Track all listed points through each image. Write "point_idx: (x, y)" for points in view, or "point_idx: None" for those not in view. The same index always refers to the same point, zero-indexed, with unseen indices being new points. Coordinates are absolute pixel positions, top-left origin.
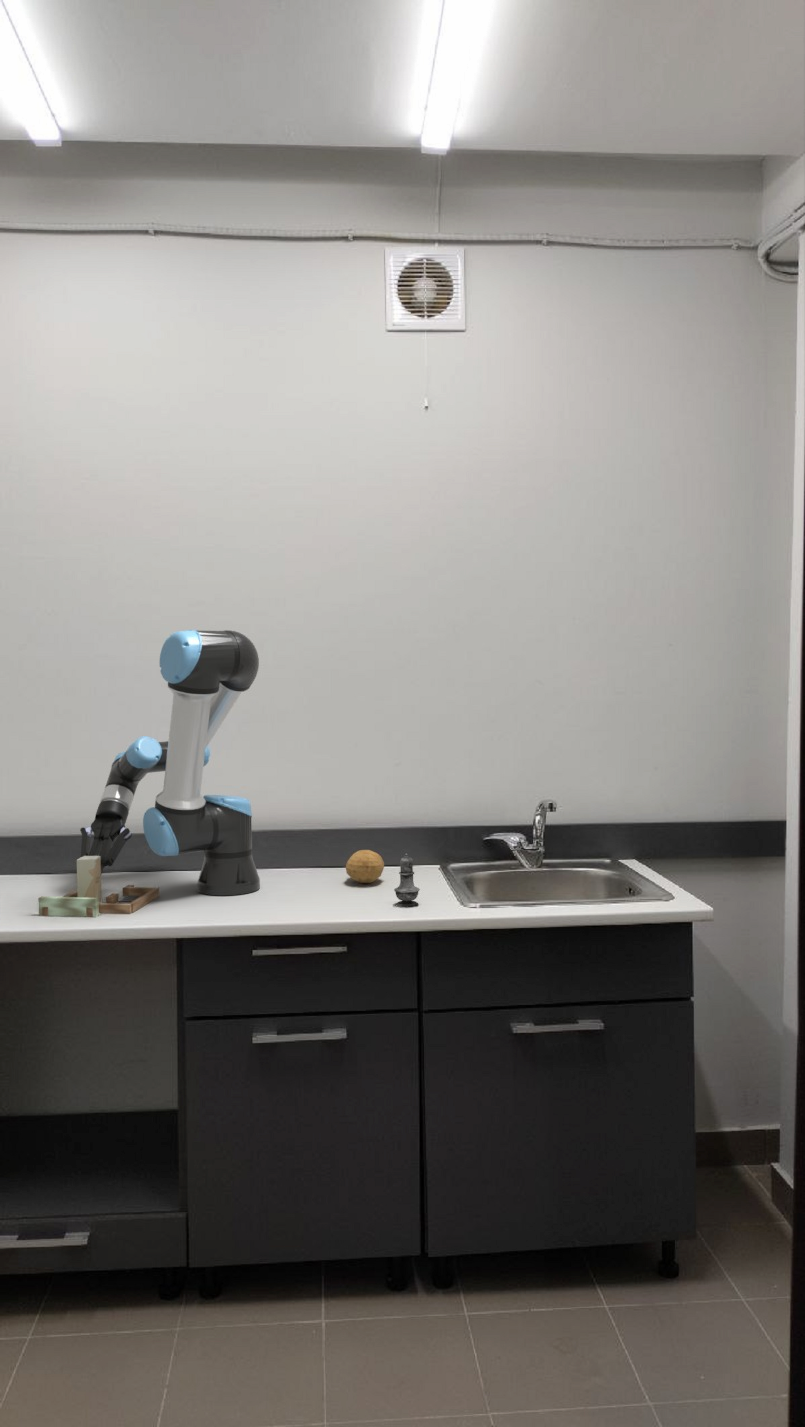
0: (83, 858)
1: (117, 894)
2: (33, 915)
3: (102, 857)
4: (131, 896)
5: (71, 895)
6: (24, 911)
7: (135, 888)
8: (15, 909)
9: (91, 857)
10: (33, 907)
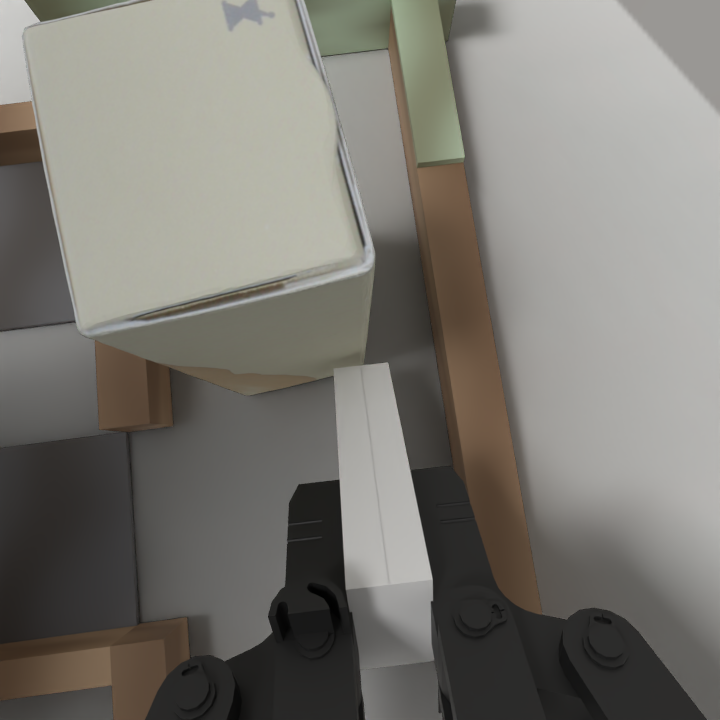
0: (223, 40)
1: (98, 405)
2: (479, 8)
3: (278, 705)
4: (98, 593)
5: (436, 298)
6: (598, 75)
7: (49, 654)
8: (689, 105)
9: (135, 134)
10: (614, 173)
